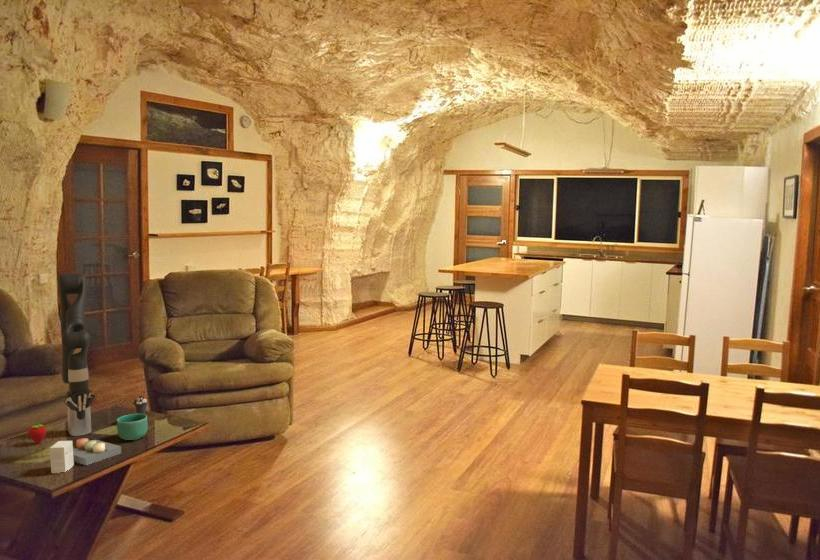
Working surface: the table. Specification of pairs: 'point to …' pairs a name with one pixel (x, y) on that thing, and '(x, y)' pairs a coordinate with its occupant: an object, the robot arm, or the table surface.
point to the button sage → (89, 445)
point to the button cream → (98, 448)
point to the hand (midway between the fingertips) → (81, 419)
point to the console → (90, 457)
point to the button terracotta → (81, 443)
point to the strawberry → (37, 433)
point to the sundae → (140, 404)
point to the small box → (61, 456)
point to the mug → (132, 426)
